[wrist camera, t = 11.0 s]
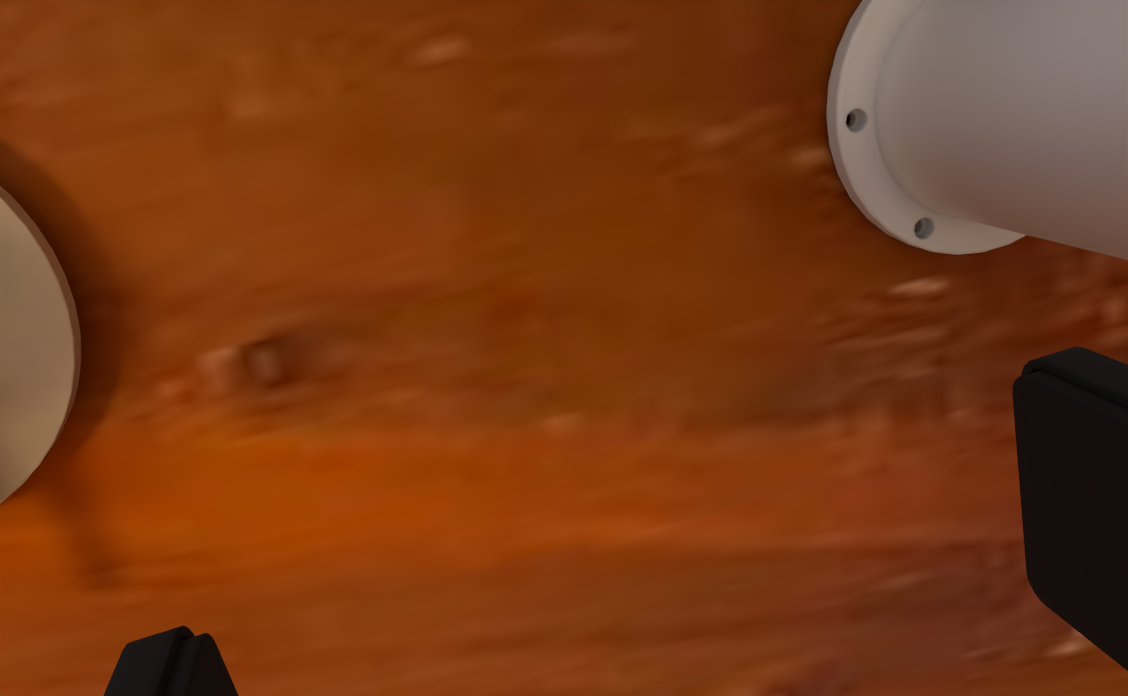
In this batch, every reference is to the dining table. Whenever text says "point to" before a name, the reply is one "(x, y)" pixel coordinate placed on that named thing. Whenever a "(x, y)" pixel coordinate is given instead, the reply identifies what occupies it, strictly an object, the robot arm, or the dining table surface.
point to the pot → (32, 347)
